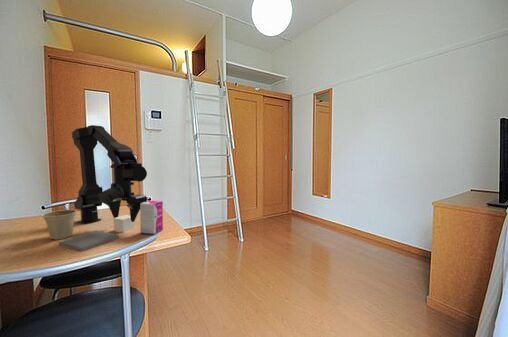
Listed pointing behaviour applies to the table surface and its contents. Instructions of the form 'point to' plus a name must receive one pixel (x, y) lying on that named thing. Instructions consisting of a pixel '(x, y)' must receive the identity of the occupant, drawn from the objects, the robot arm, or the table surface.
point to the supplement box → (151, 217)
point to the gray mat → (88, 240)
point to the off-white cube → (123, 224)
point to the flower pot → (60, 223)
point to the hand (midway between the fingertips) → (124, 220)
